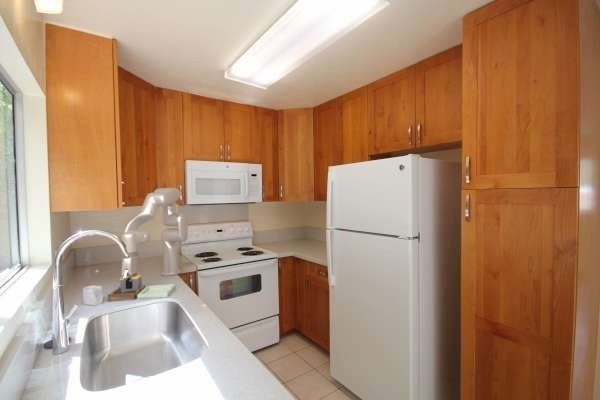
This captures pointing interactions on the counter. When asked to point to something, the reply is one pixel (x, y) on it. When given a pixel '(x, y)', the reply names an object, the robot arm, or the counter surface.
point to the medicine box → (92, 295)
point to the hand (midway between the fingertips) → (131, 286)
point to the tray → (156, 291)
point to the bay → (123, 295)
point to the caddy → (135, 283)
